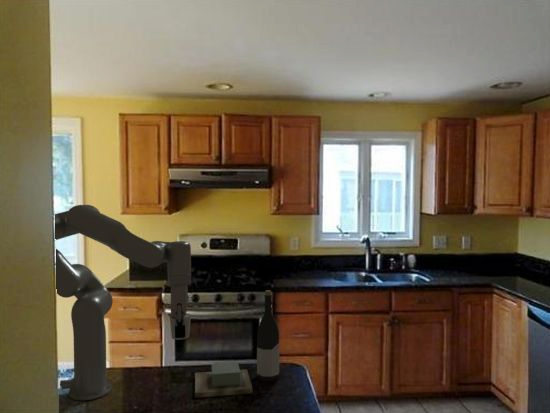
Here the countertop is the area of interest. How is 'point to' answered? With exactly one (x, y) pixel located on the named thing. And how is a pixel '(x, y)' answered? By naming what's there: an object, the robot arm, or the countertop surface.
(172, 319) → the grey tapered cup
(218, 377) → the sage block
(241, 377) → the board
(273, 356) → the wine bottle
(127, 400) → the countertop surface
